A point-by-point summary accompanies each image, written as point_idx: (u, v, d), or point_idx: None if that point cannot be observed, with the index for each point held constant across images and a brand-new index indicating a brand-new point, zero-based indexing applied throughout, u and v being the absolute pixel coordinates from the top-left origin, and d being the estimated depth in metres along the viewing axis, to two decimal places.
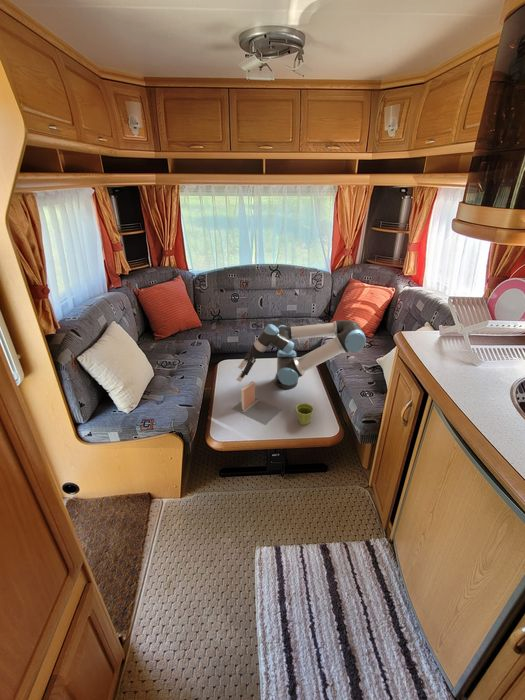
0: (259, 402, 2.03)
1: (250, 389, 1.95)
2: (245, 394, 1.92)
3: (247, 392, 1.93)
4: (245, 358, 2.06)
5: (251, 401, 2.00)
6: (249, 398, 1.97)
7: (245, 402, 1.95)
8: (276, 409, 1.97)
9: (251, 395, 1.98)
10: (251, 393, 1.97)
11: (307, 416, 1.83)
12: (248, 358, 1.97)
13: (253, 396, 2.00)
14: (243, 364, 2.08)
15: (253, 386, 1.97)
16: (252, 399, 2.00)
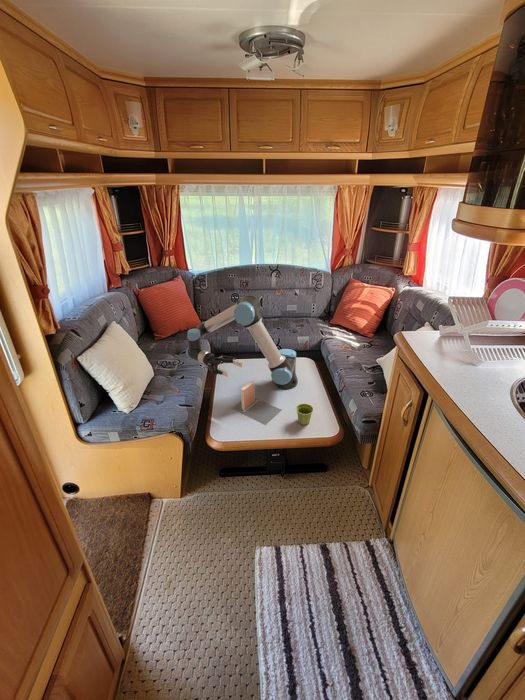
0: (259, 402, 2.03)
1: (250, 389, 1.95)
2: (245, 394, 1.92)
3: (247, 392, 1.94)
4: (231, 362, 2.04)
5: (251, 401, 2.00)
6: (249, 398, 1.97)
7: (245, 402, 1.95)
8: (276, 409, 1.97)
9: (251, 395, 1.98)
10: (251, 393, 1.97)
11: (307, 416, 1.83)
12: None
13: (253, 396, 2.00)
14: (236, 363, 2.01)
15: (253, 386, 1.97)
16: (252, 399, 2.00)
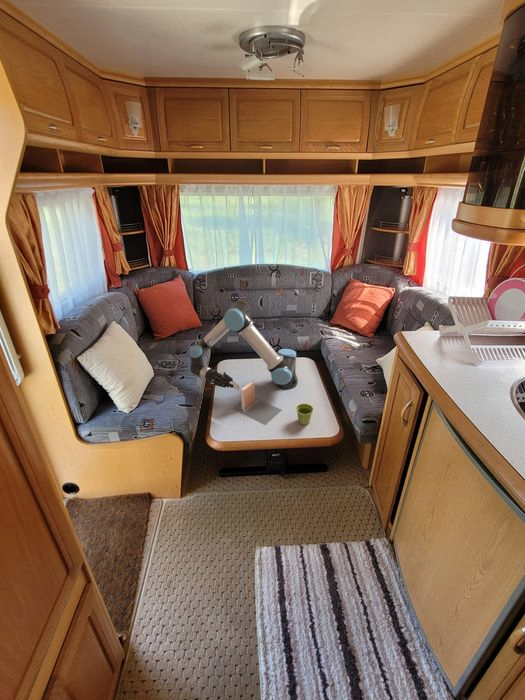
0: (259, 402, 2.03)
1: (250, 389, 1.95)
2: (245, 394, 1.92)
3: (247, 392, 1.93)
4: None
5: (251, 401, 2.00)
6: (249, 398, 1.97)
7: (245, 402, 1.95)
8: (276, 409, 1.97)
9: (251, 395, 1.98)
10: (251, 393, 1.97)
11: (307, 416, 1.83)
12: None
13: (253, 396, 2.00)
14: None
15: (253, 386, 1.97)
16: (252, 399, 2.00)
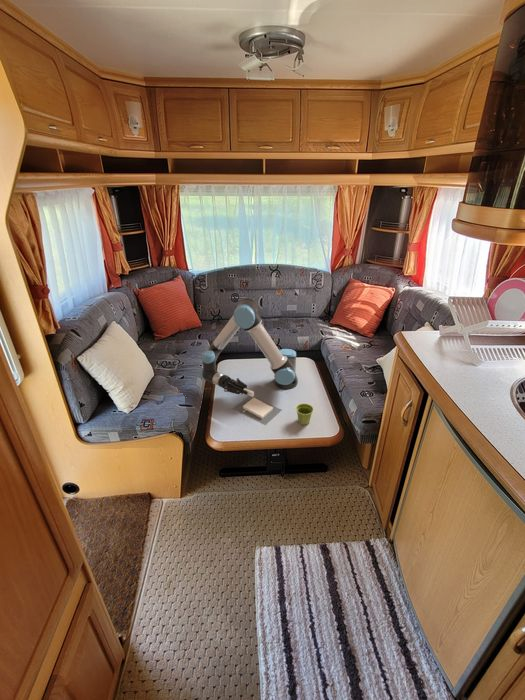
0: None
1: None
2: None
3: None
4: None
5: None
6: None
7: None
8: (276, 409, 1.97)
9: None
10: None
11: (307, 416, 1.83)
12: None
13: None
14: None
15: None
16: None
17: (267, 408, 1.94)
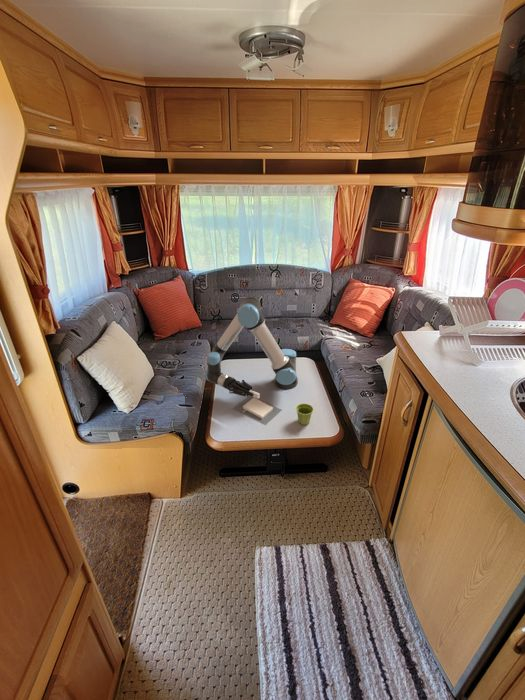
0: None
1: None
2: None
3: None
4: (247, 391, 1.97)
5: None
6: None
7: None
8: (276, 409, 1.97)
9: None
10: None
11: (307, 416, 1.83)
12: None
13: None
14: None
15: None
16: None
17: (267, 408, 1.94)
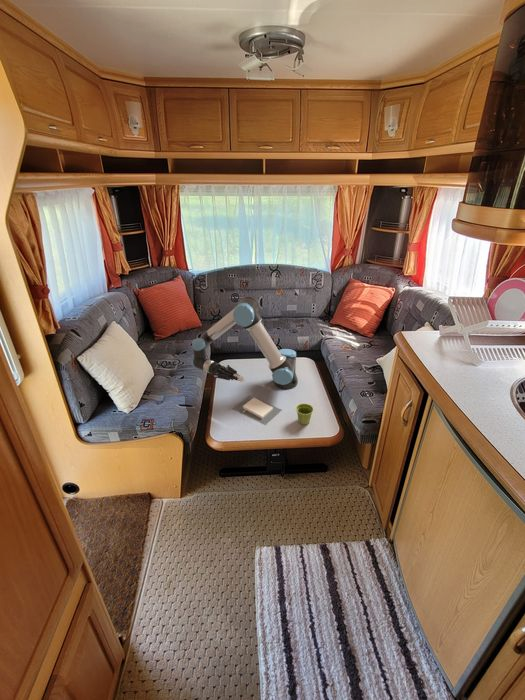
0: None
1: None
2: None
3: None
4: None
5: None
6: None
7: None
8: (276, 409, 1.97)
9: None
10: None
11: (307, 416, 1.83)
12: None
13: None
14: None
15: None
16: None
17: (267, 408, 1.94)
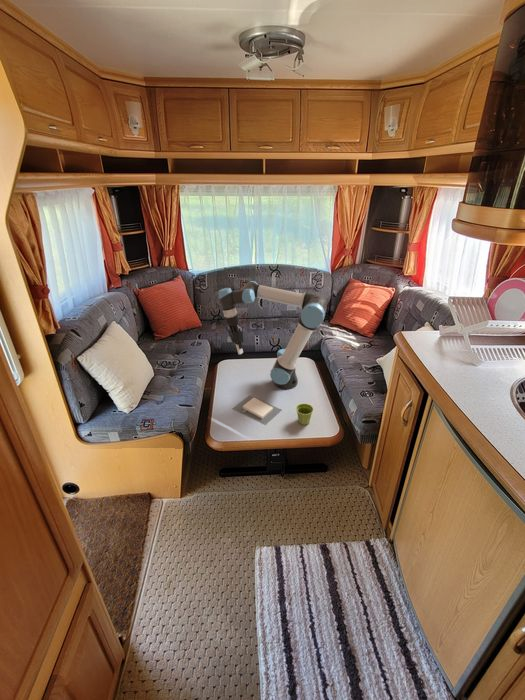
0: None
1: None
2: None
3: None
4: (235, 340, 2.00)
5: None
6: None
7: None
8: (276, 409, 1.97)
9: None
10: None
11: (307, 416, 1.83)
12: (233, 330, 1.96)
13: None
14: None
15: None
16: None
17: (267, 408, 1.94)
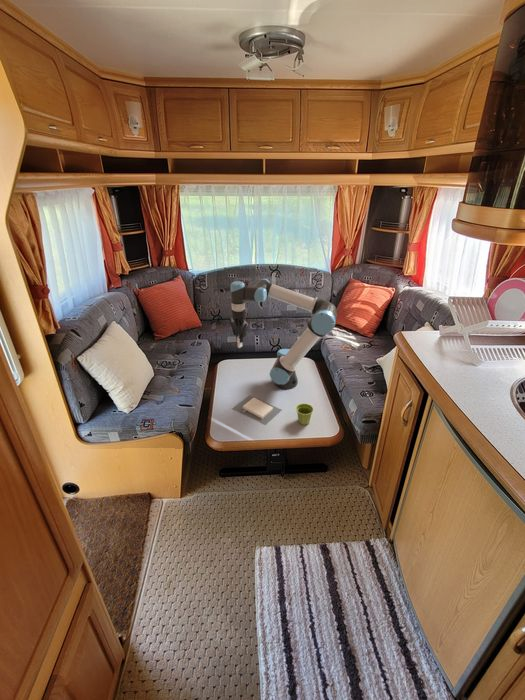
0: None
1: None
2: None
3: None
4: (237, 333, 1.99)
5: None
6: None
7: None
8: (276, 409, 1.97)
9: None
10: None
11: (307, 416, 1.83)
12: (238, 324, 1.95)
13: None
14: None
15: None
16: None
17: (267, 408, 1.94)
